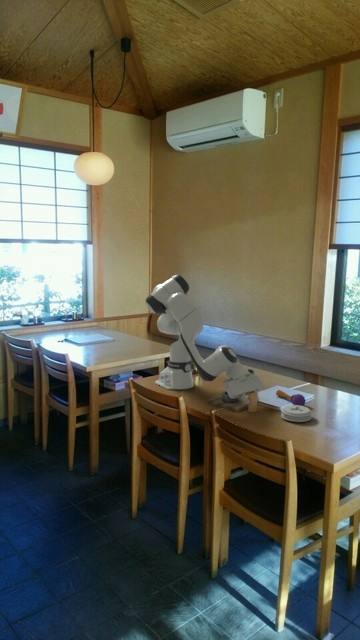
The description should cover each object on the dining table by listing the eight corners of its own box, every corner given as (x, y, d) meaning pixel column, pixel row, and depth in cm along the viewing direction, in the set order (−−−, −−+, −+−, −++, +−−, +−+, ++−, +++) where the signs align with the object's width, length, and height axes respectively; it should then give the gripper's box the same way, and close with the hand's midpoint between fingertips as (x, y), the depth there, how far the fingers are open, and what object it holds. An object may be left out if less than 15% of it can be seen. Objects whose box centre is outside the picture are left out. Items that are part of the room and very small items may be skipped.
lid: (275, 418, 200) (275, 407, 200) (293, 411, 208) (293, 401, 207) (298, 426, 191) (299, 414, 190) (317, 419, 198) (317, 408, 198)
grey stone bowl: (219, 400, 220) (219, 393, 219) (229, 396, 225) (229, 389, 224) (231, 404, 214) (231, 396, 214) (241, 400, 219) (241, 393, 219)
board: (208, 402, 221) (208, 399, 221) (227, 396, 230) (227, 393, 230) (237, 412, 208) (237, 408, 208) (256, 404, 217) (256, 401, 217)
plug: (246, 411, 209) (246, 393, 208) (251, 408, 212) (251, 392, 211) (253, 413, 206) (253, 395, 205) (258, 411, 209) (259, 393, 208)
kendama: (284, 387, 231) (308, 396, 213) (283, 399, 231) (306, 408, 213) (274, 386, 229) (297, 395, 211) (272, 398, 229) (296, 408, 211)
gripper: (225, 376, 206) (241, 403, 199) (256, 369, 218) (272, 393, 212) (218, 384, 210) (233, 410, 204) (249, 376, 222) (264, 400, 216)
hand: (253, 401), depth 208 cm, fingers closed on plug, 4 cm apart
